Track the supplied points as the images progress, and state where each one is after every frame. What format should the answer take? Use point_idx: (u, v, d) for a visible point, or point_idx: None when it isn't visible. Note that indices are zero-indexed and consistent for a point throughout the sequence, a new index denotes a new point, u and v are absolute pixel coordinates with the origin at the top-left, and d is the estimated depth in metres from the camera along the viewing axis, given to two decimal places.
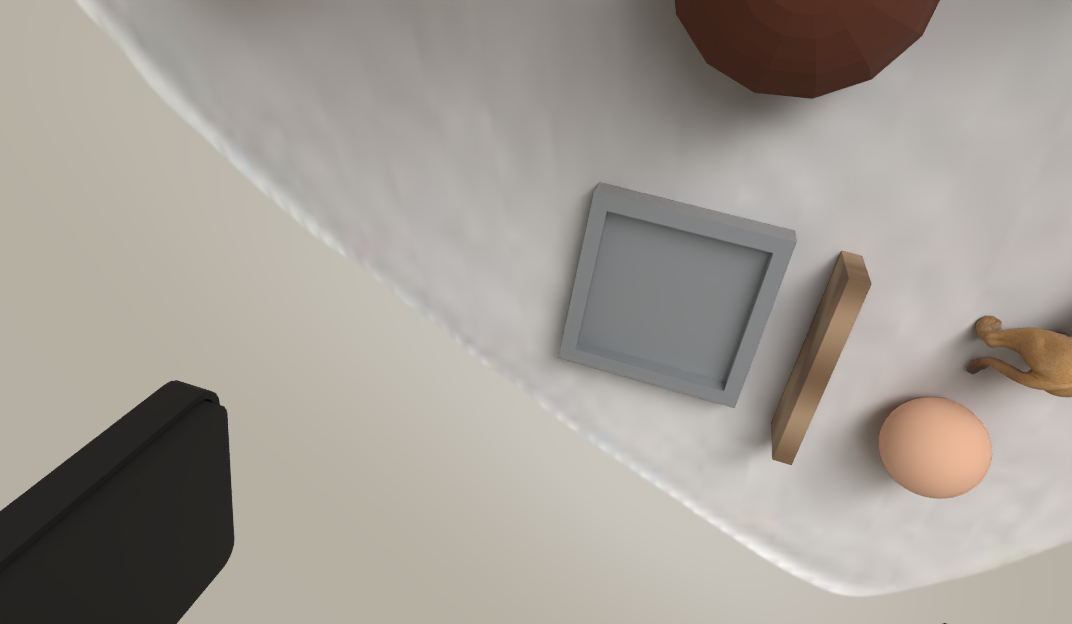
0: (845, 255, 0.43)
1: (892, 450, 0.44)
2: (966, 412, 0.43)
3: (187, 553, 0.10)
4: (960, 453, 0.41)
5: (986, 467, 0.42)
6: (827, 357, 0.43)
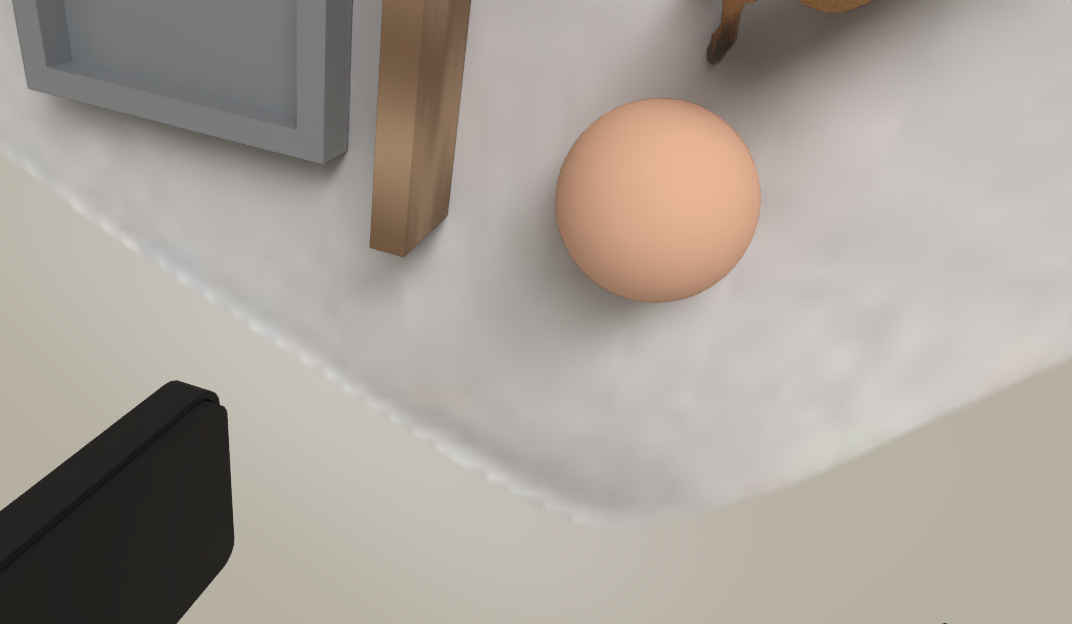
0: None
1: (560, 200, 0.21)
2: (702, 111, 0.20)
3: (187, 553, 0.10)
4: (670, 179, 0.19)
5: (735, 217, 0.20)
6: None
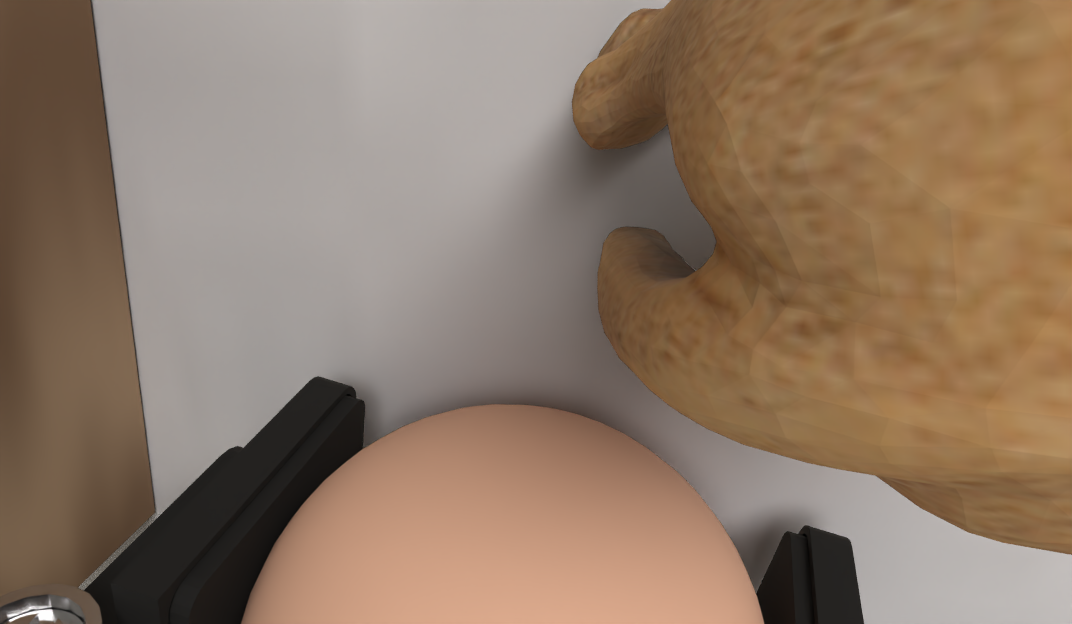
0: None
1: None
2: (608, 500, 0.07)
3: None
4: None
5: None
6: None
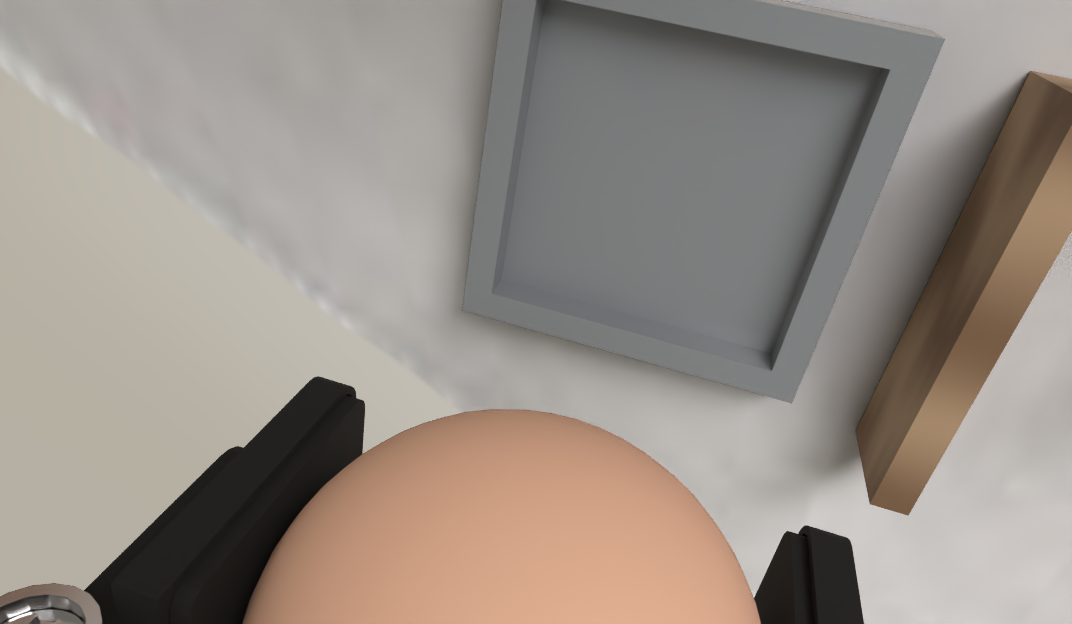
0: (1043, 76, 0.20)
1: None
2: (606, 506, 0.07)
3: None
4: None
5: None
6: (1009, 292, 0.20)
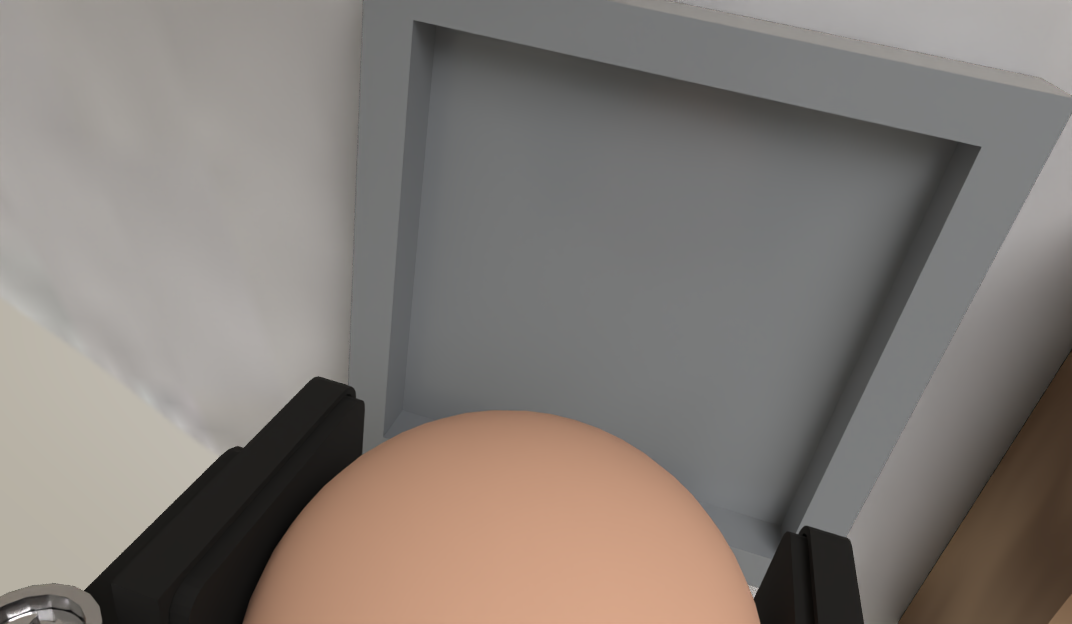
0: None
1: None
2: (606, 507, 0.07)
3: None
4: None
5: None
6: None
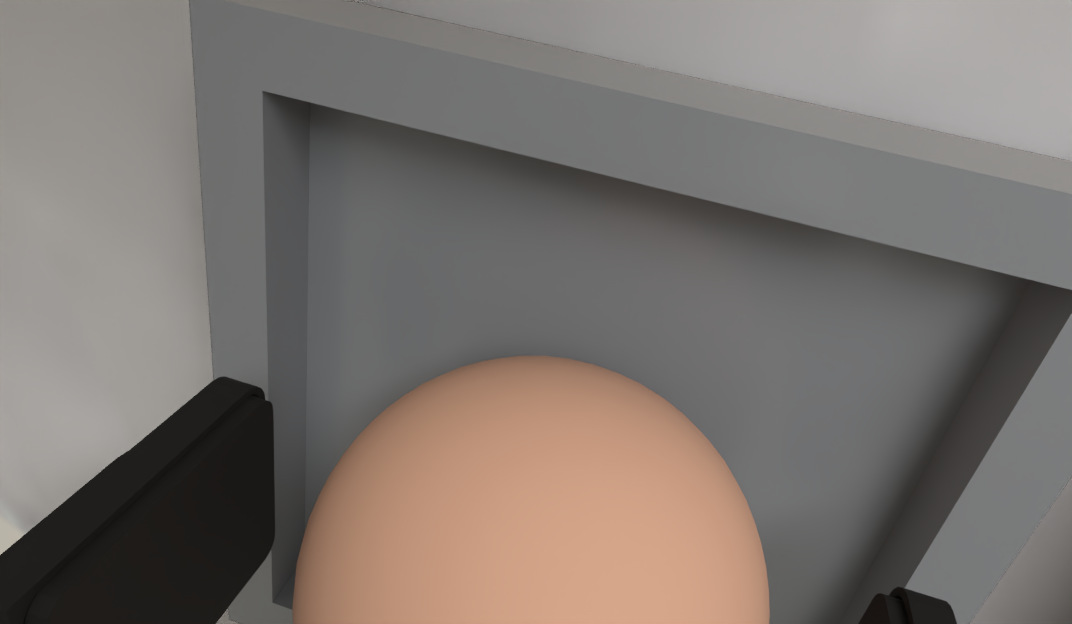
0: None
1: None
2: (625, 427, 0.08)
3: (234, 545, 0.10)
4: None
5: None
6: None
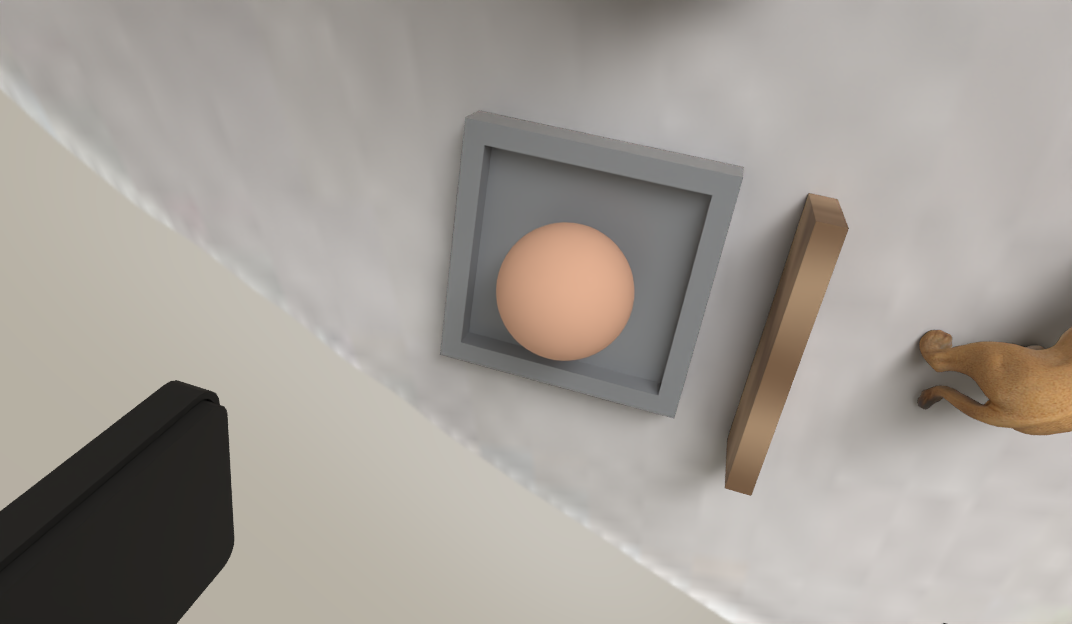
0: (812, 197, 0.31)
1: (497, 292, 0.31)
2: (590, 233, 0.31)
3: (187, 553, 0.10)
4: (563, 281, 0.29)
5: (609, 305, 0.30)
6: (791, 340, 0.30)
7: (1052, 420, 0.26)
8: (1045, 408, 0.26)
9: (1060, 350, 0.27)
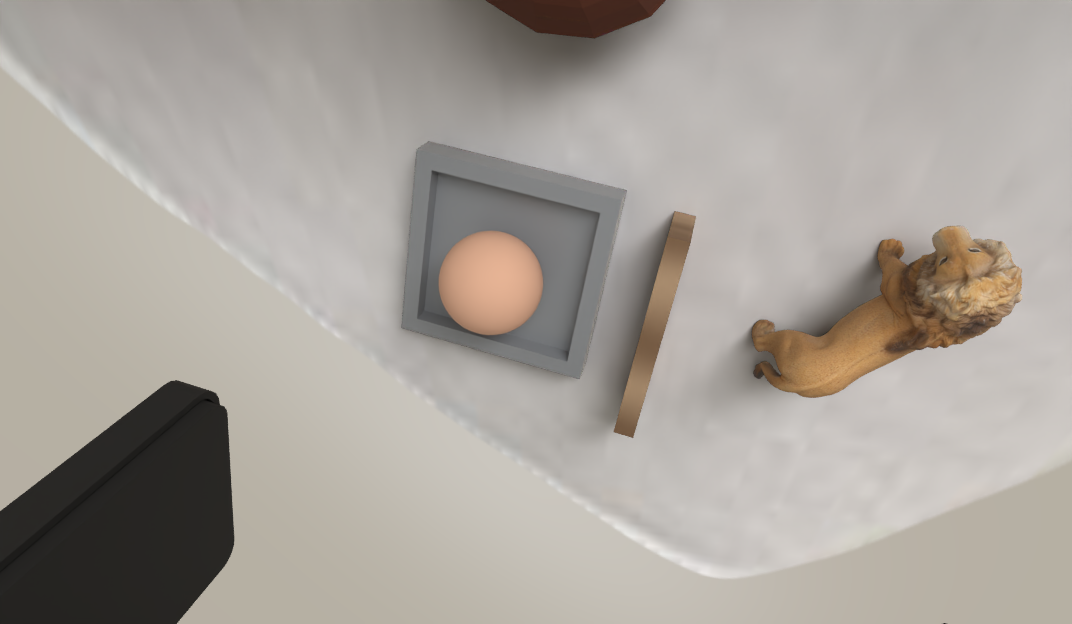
0: (675, 215, 0.41)
1: (439, 283, 0.42)
2: (507, 240, 0.41)
3: (187, 553, 0.10)
4: (484, 278, 0.40)
5: (519, 295, 0.40)
6: (655, 322, 0.40)
7: (814, 386, 0.37)
8: (810, 378, 0.37)
9: (827, 337, 0.38)
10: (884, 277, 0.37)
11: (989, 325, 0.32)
